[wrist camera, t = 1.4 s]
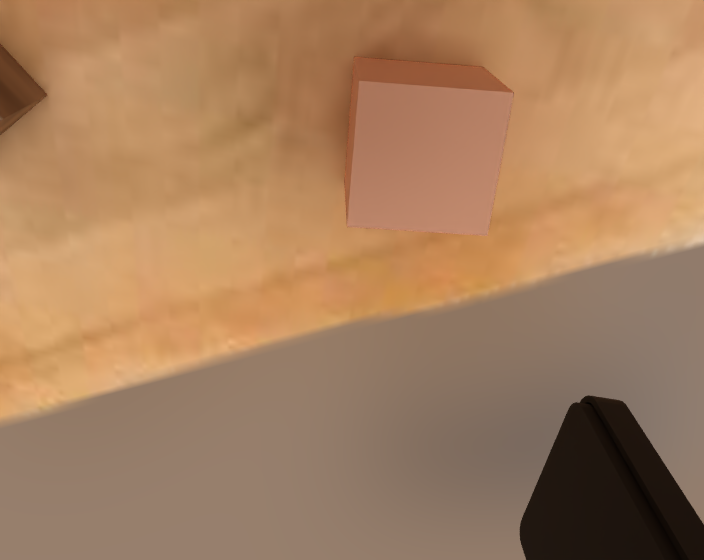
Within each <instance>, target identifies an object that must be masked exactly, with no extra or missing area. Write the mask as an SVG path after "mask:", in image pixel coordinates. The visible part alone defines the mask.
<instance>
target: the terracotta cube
mask: <svg viewBox="0 0 704 560" xmlns="http://www.w3.org/2000/svg"><path fill="white" fill-rule="evenodd" d="M513 96H514V92H512V91H511V90H510V89H509V88H508V87H506V86H505V85H504V84H503V83H502V82H500V81H499V80H498V79H497V78H496V77H494V76H493V75H492V74H491V73H490V72H488V71H487V70H486V69H485V68H484V67H477V66H464V65H452V64H439V63H427V62H414V61H402V60H389V59H377V58H364V57H354V66H353V79H352V92H351V104H350V117H349V130H348V142H347V155H346V168H345V180H344V183H345V201H346V218H347V227H357V228H373V229H389V230H404V231H420V232H435V233H451V234H467V235H482V236H488V230H489V225H490V219H491V214H492V209H493V203H494V198H495V192H496V187H497V182H498V176H499V171H500V166H501V160H502V155H503V149H504V144H505V139H506V133H507V128H508V122H509V117H510V112H511V106H512V101H513Z"/></svg>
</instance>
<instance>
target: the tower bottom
mask: <svg viewBox="0 0 704 560" xmlns="http://www.w3.org/2000/svg"><path fill="white" fill-rule="evenodd" d="M46 96H47V94H46V93H45V92H44V91H43V90H42V88H41V87H40V86H39V85H38V84H37V83H36V82H35V81H34V80H33V79H32V78H31V76H30V75H29V74H28V73H27V72H26V71H25V70H24V69H23V68H22V67H21V66H20V65H19V63H18V62H17V61H16V60H15V59H14V58H13V57H12V56H11V55H10V54H9V53H8V52H7V50H6V49H5V48H4V47H3V46H2V45H1V44H0V135H1V134H2V133H3V132H5V131H6V130H7V129H8V128H9V127H10V126H12V125H13V124H14V123H15V122H16V121H17V120H19V119H20V118H21V117H22V116H23V115H25V114H26V113H27V112H28V111H29V110H30V109H32V108H33V107H34V106H35V105H36V104H37V103H39V102H40V101H41V100H42V99H43V98H44V97H46Z"/></svg>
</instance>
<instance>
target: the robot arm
mask: <svg viewBox="0 0 704 560" xmlns="http://www.w3.org/2000/svg"><path fill="white" fill-rule="evenodd" d="M520 541H521V545H522V548H523V551H524V554H525V557H526V560H704V524H703V523H702V521H701V520H700V518H699V517H698V515H697V514H696V512H695V510H694V509H693V507H692V506H691V504H690V503H689V501H688V500H687V498H686V497H685V495H684V493H683V492H682V490H681V489H680V487H679V486H678V484H677V483H676V481H675V480H674V478H673V476H672V475H671V473H670V472H669V470H668V469H667V467H666V466H665V464H664V463H663V461H662V459H661V458H660V456H659V455H658V453H657V452H656V450H655V449H654V447H653V446H652V444H651V443H650V441H649V439H648V438H647V437H646V435H645V433H644V432H643V430H642V429H641V427H640V425H639V424H638V423H637V421H636V419H635V418H634V416H633V415H632V413H631V412H630V410H629V409H628V407H627V406H626V404H625V403H624V402H623V401H620V400H614V399H608V398H601V397H595V396H585V397H584V398H583V399H582V400H581V402H580V403H577V402H576V403H573V404H572V405H571V406H570V408H569V410H568V412H567V414H566V416H565V419H564V421H563V423H562V426H561V428H560V431H559V433H558V435H557V438H556V440H555V442H554V445H553V447H552V449H551V452H550V454H549V456H548V459H547V461H546V463H545V466H544V468H543V471H542V473H541V475H540V477H539V480H538V482H537V485H536V487H535V489H534V492H533V494H532V496H531V499H530V501H529V503H528V506H527V508H526V510H525V513H524V515H523V518H522V520H521V524H520Z"/></svg>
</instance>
